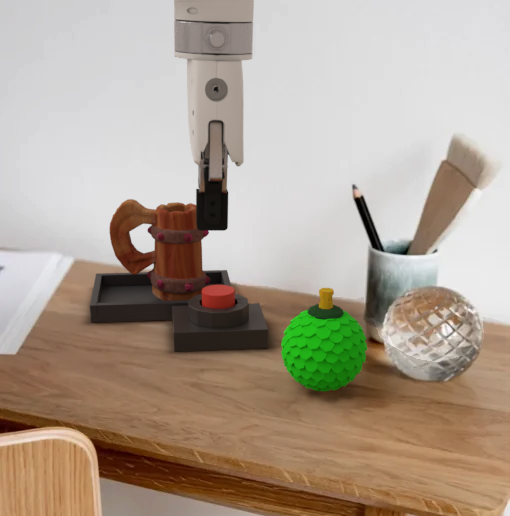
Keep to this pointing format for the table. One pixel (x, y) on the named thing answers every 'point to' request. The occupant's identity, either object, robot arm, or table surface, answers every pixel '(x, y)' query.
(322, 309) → the ornament
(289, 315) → the table surface
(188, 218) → the mug
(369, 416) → the table surface
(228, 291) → the button
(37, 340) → the table surface
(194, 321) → the panel
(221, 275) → the pan
